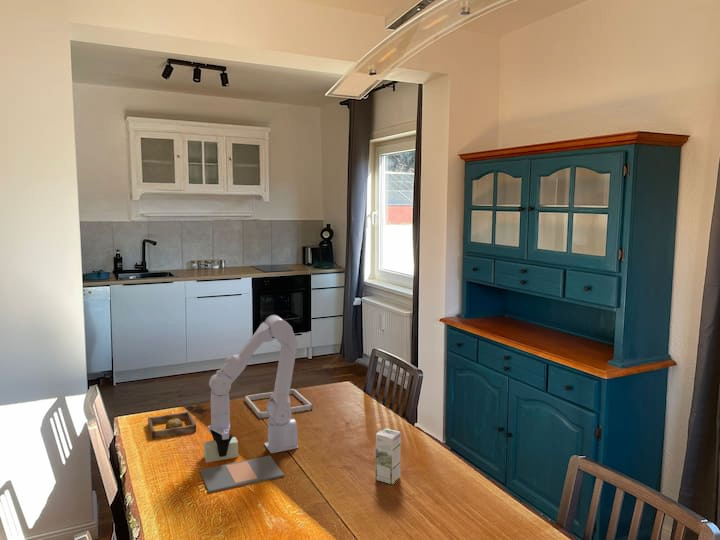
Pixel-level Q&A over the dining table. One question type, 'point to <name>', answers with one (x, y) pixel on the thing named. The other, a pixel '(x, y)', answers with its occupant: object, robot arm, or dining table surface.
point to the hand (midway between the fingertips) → (221, 452)
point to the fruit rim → (172, 431)
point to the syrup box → (388, 455)
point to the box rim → (267, 395)
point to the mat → (240, 473)
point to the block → (212, 450)
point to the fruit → (174, 423)
